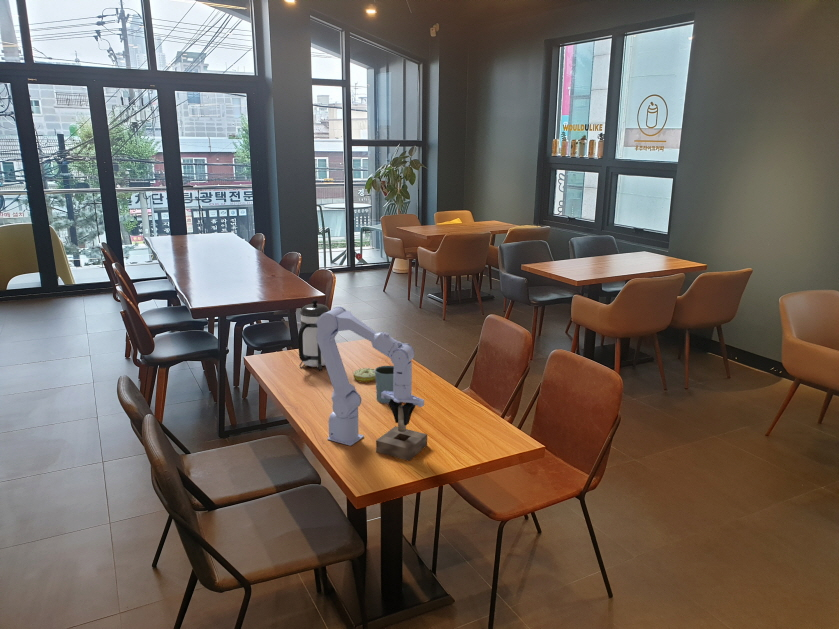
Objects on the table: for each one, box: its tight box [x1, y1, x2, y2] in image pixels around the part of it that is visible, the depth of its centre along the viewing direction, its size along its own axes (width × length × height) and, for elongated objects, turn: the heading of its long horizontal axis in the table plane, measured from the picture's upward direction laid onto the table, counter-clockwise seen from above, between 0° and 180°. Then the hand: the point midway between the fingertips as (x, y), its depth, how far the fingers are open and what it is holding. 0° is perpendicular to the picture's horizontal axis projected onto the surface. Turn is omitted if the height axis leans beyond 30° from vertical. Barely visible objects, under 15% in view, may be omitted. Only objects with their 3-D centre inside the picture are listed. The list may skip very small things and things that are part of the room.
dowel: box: [397, 404, 407, 432], centre depth 200 cm, size 3×3×8 cm
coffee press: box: [297, 299, 331, 372], centre depth 272 cm, size 17×16×30 cm
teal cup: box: [374, 365, 394, 404], centre depth 241 cm, size 10×10×12 cm
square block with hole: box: [375, 425, 428, 462], centre depth 203 cm, size 12×12×4 cm
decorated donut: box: [353, 367, 376, 384], centre depth 263 cm, size 10×11×4 cm
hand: (402, 423), depth 201 cm, fingers closed on dowel, 3 cm apart
